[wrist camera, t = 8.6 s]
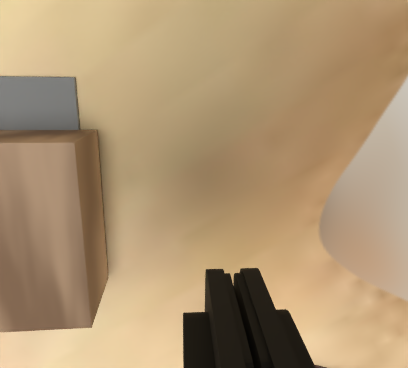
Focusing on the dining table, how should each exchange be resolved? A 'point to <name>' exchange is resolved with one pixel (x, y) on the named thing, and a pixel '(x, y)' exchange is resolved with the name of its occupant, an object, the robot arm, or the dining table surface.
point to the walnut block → (50, 230)
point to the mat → (38, 103)
